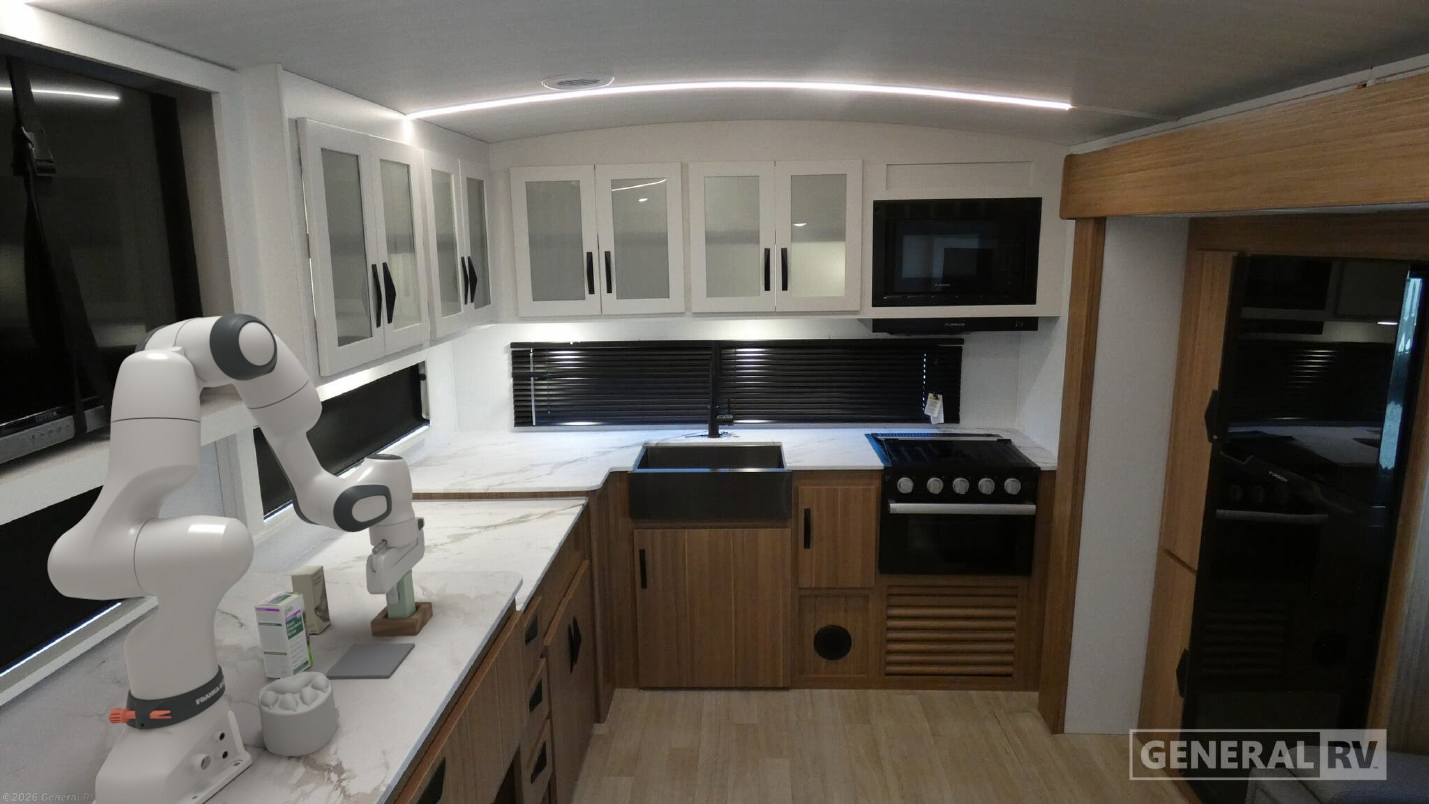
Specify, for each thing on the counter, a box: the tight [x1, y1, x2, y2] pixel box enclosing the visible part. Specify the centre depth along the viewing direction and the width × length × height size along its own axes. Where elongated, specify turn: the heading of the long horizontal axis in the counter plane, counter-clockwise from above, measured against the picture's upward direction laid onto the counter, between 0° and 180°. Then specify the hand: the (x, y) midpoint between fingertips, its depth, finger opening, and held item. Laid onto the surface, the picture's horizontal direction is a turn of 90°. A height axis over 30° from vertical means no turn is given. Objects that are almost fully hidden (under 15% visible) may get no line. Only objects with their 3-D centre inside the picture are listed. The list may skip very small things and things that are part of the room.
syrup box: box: [254, 591, 314, 679], centre depth 152 cm, size 6×6×14 cm
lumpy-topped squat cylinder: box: [257, 671, 338, 758], centre depth 132 cm, size 10×13×9 cm
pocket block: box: [370, 601, 434, 637], centre depth 170 cm, size 9×9×3 cm
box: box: [290, 565, 331, 635], centre depth 169 cm, size 5×4×13 cm
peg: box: [385, 570, 416, 618], centre depth 169 cm, size 4×4×10 cm
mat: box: [324, 642, 416, 680], centre depth 155 cm, size 12×12×1 cm
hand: (400, 596), depth 169 cm, fingers closed on peg, 4 cm apart
